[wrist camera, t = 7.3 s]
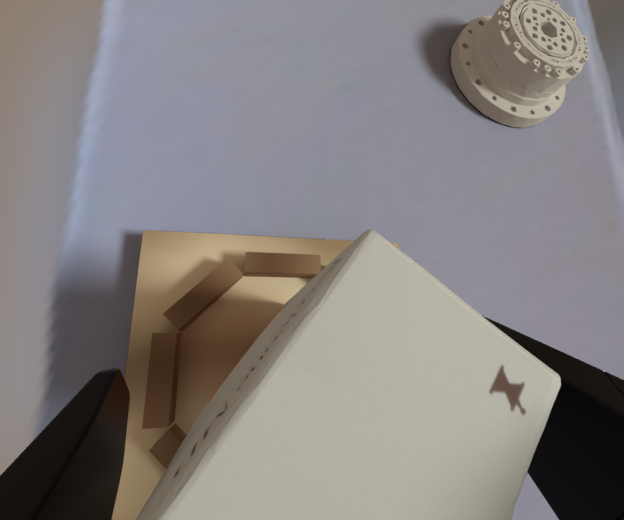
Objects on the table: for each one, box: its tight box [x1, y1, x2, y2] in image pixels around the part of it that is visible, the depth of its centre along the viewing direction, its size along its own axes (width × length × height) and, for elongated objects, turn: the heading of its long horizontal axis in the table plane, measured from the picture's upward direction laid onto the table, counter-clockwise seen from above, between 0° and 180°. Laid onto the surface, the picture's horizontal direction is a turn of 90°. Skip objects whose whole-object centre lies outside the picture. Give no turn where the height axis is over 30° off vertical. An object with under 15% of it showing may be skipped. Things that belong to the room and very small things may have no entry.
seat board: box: [112, 230, 398, 520], centre depth 15 cm, size 14×14×2 cm
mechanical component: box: [451, 0, 590, 128], centre depth 24 cm, size 10×4×10 cm
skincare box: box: [136, 230, 561, 520], centre depth 10 cm, size 6×4×12 cm
